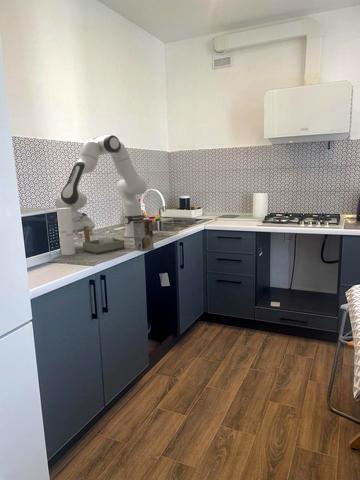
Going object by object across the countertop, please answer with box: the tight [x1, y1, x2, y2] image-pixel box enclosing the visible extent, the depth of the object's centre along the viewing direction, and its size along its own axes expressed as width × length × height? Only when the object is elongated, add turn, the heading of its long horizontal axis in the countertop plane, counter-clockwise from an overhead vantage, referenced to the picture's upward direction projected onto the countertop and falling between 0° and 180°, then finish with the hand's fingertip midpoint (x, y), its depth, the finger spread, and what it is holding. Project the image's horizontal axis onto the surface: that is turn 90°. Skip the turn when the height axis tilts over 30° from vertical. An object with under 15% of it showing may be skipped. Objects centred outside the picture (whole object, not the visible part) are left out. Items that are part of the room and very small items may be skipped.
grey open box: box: [82, 236, 125, 255], centre depth 204 cm, size 18×15×7 cm
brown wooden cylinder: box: [83, 226, 91, 242], centre depth 209 cm, size 3×3×13 cm
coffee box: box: [133, 219, 155, 252], centre depth 200 cm, size 9×6×16 cm
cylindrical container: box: [56, 208, 76, 256], centre depth 195 cm, size 7×7×25 cm
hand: (86, 236), depth 209 cm, fingers open, 8 cm apart
